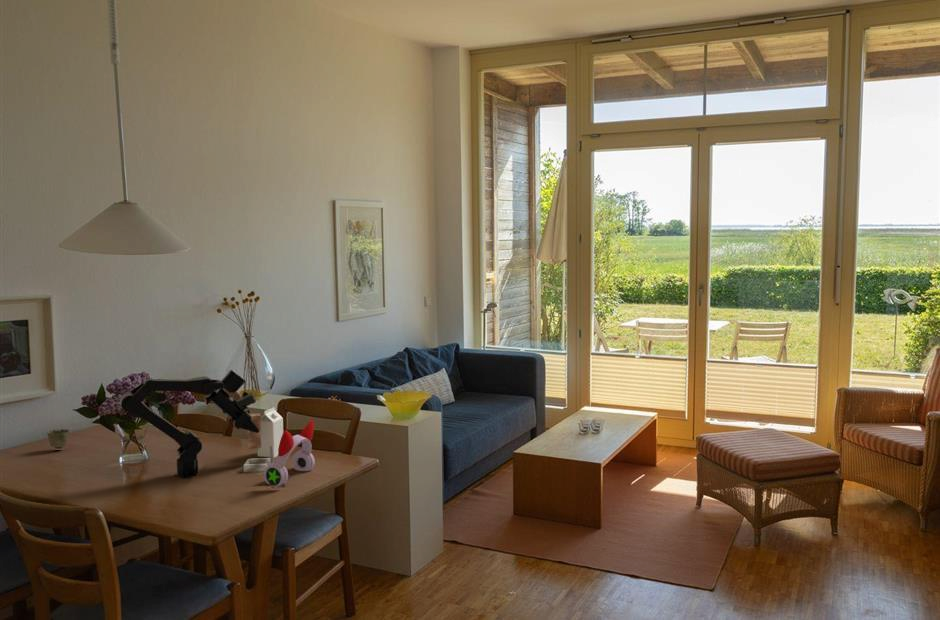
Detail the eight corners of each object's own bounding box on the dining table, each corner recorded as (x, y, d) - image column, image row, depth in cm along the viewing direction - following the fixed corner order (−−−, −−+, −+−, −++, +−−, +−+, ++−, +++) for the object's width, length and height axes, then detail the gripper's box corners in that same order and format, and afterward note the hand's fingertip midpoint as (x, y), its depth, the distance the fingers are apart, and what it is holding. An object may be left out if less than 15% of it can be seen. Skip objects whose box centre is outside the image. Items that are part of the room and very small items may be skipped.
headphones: (296, 471, 278) (294, 416, 276) (319, 473, 274) (318, 418, 272) (263, 487, 259) (261, 429, 257) (287, 490, 256) (286, 431, 254)
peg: (248, 449, 280) (248, 416, 279) (247, 446, 284) (247, 414, 283) (261, 448, 281) (260, 415, 280) (260, 445, 285) (259, 413, 284)
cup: (55, 448, 311) (54, 428, 310) (73, 448, 311) (72, 428, 310) (44, 453, 304) (43, 433, 303) (62, 453, 303) (61, 433, 303)
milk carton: (257, 459, 292) (256, 410, 290) (268, 454, 299) (266, 406, 297) (274, 461, 290) (272, 411, 288) (284, 456, 296) (282, 407, 295)
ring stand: (257, 479, 268) (256, 452, 267) (232, 474, 274) (231, 448, 273) (282, 470, 278) (281, 444, 277) (257, 465, 284) (256, 440, 283)
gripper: (243, 390, 270) (276, 419, 275) (240, 381, 288) (271, 409, 293) (220, 414, 268) (253, 443, 273) (218, 404, 286) (250, 431, 291)
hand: (258, 430), depth 282 cm, fingers closed on peg, 4 cm apart
